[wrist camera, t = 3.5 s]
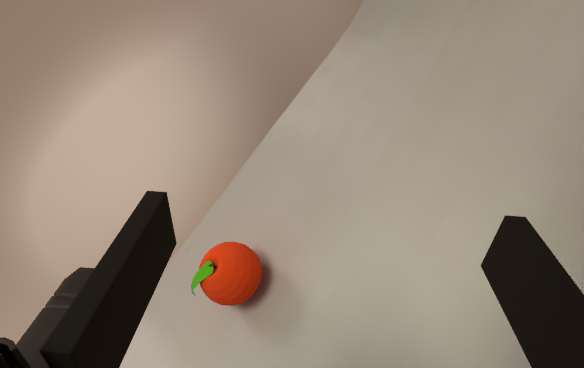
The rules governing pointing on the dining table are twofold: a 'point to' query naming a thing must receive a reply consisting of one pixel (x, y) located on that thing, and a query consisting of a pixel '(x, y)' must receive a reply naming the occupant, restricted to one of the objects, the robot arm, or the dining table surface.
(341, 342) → the dining table surface
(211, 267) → the clementine
